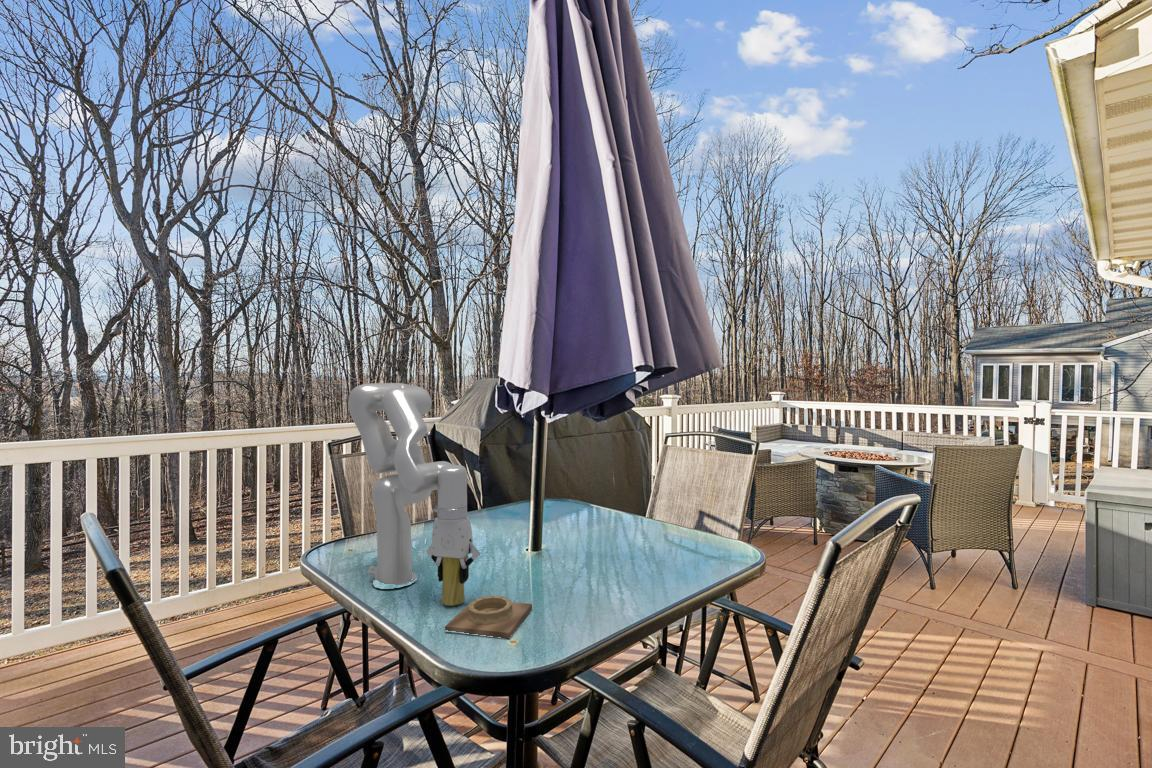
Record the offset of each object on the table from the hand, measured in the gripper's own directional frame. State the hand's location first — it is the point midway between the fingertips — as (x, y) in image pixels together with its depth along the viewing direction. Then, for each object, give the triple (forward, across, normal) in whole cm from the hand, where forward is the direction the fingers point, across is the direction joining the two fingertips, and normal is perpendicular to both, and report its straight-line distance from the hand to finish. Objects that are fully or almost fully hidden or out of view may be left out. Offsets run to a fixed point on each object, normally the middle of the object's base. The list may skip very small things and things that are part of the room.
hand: (453, 580), depth 141 cm
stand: (+6, +14, -7) cm, 17 cm away
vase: (+6, 0, 0) cm, 6 cm away
